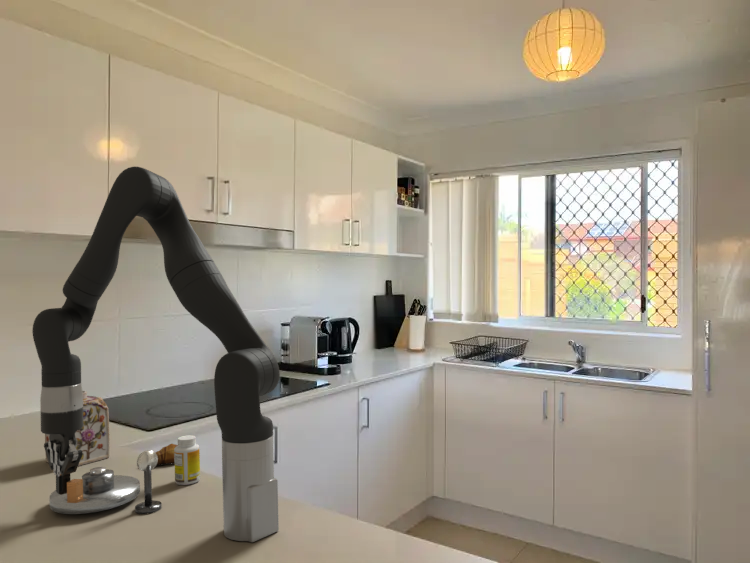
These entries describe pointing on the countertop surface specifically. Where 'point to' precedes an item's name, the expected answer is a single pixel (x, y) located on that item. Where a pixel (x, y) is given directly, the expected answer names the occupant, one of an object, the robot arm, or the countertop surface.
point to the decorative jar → (92, 431)
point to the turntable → (94, 496)
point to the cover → (98, 481)
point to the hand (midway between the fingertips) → (63, 492)
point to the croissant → (166, 455)
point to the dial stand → (147, 482)
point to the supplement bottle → (187, 460)
